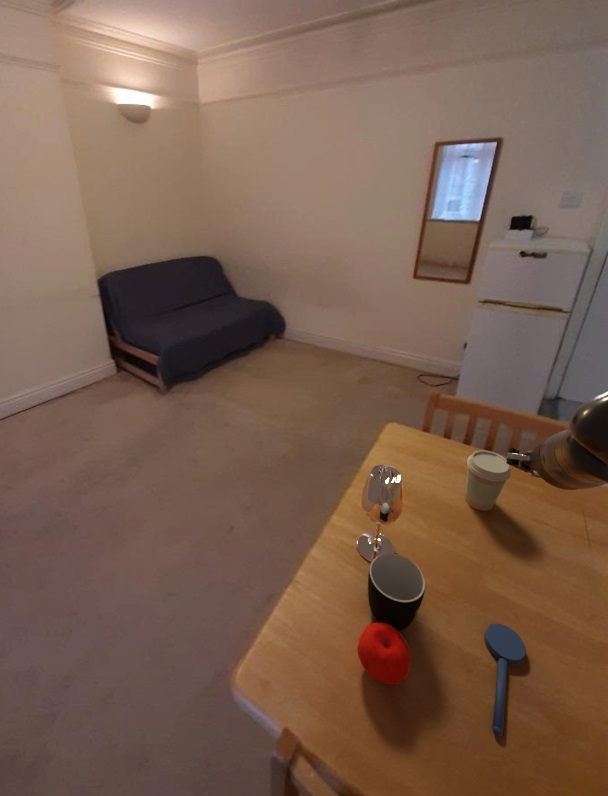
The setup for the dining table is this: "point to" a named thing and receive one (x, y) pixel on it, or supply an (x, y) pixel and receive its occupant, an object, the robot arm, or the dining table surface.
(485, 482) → the coffee cup
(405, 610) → the mug
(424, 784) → the dining table surface
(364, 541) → the wineglass
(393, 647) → the apple
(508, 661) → the blue spoon
